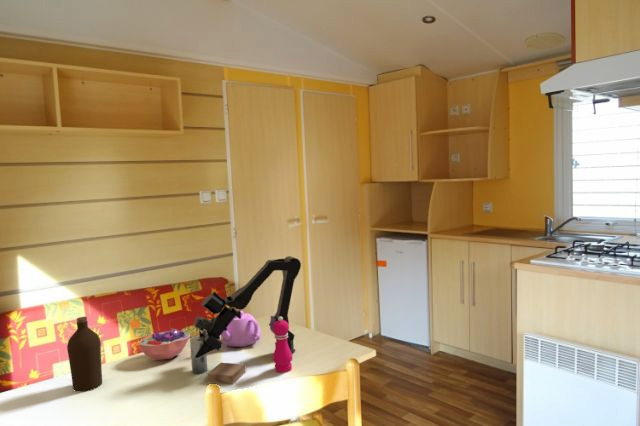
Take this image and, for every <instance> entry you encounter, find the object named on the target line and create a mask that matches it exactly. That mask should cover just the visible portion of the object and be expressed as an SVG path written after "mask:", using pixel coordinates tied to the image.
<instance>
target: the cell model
mask: <svg viewBox="0 0 640 426" xmlns="http://www.w3.org/2000/svg"><path fill="white" fill-rule="evenodd" d="M190 337H191V334H190V333H189V332H187V331H183V330H178V329H176V328H171V330H169V331H167V330H165V331H161V332H158V331H157V332H154V333H152V334H151V335H148V336H145V337H143V338H141V339H140V341H139V342H138V345H139V347H140V349H141V351H142V353H143V354H144V355H145V356H147V357H148V358H150V359H151V360H154V361H161V360H170V359H173V358H174V357H176V356H178V355H180V354H181V353H182V352H183V350H184V349H185V347H186V346H187V344H188V342H189V340H190Z"/></svg>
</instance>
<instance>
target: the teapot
mask: <svg viewBox="0 0 640 426" xmlns="http://www.w3.org/2000/svg"><path fill="white" fill-rule="evenodd" d="M240 311H241V319H239V318H238V317H237V316H236V317H235V318H234V319H233V320H232V322H231V323H230V324H229V325H228V327H227V330H226V331H225V330H224V331H223V333H222V334H221V335H220V340H221V341H222V342H223V343H224V344H225V345H226V346H228V347H235V348H236V347H238V348H239V347H240V348H241V347H245V346H246V347H247V346H250V345H253V344H255V343H256V342H257V341H259V340H260V339H261V335H262V333H261V332H262V331H261V327H260V326H259V323H258V321H257V320H256V319H255V317H254V316H253V315H252V314H250V313H248V312H246V313H245V312H244V310H240Z"/></svg>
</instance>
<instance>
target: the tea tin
mask: <svg viewBox="0 0 640 426" xmlns="http://www.w3.org/2000/svg"><path fill="white" fill-rule="evenodd" d="M202 338H204V339H205V337H204V336H199V335H197V336H193V337H191V338H189V342H190V343H189V347H190V360H191V371H192V374H194V375H202V374H205V373H208V371H209V369H208V357H207V355H208V354H207V353H206V354H204V355H202V356H201V357H199V358H196V357H195V355H196V354H197V352H198V350H199V349H200V347H201V346H202V344H203V340H202Z"/></svg>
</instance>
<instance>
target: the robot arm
mask: <svg viewBox="0 0 640 426" xmlns="http://www.w3.org/2000/svg"><path fill="white" fill-rule="evenodd" d="M301 267H302V263H301V260H300V259H298V258H297V257H294V256H289V255H288V256H285V257H284V258H278V259H268V260H267V261H266V262H265V263H264V265H263V266H262V267H261V268H260V269H259V270H257V272H255V274H254V275H253V276H252V277H251V279H249V281H247V283H246V284H244V285H243V286H242V287H240V288H238V289H237V290H235V291H234V292H233V293H232V294H231V295H229V296H228V295H227V296H226V297H221V295H219V294H218V293H217V292H216V291H215V290H214V291H212V293H210V294H208V295H207V296H206V297H204V299H203V301H202V302H201V306H202V307H203V308H205V309H206V310H208V311H209V312H210V313H211V314H213V315H216V314H217V315H216V316H215V317H212V318H211V319H209V318H206V317H203V316H202V317H201V316H198V315H197V316H196V317H195V320H194V323H193V325H194V327H195V328H198V336H204V337H205V339H204V338H202V340H203V344H202V346H201V347H200V349H199V350H198V352H197V354H196V355H195V357H196V358H199V357H201V356H202V355H204V354H206V355H207V354H208V353H210V352H212V351H214V350H217V351H220V350H221V348H222V347H223V345H222V342H221V341H222V340H221V334H222V333H223V331H224V330H225V331H226V330H227V327H228V325H229V324H230V323H231V322H232V320H233V319H234V318H235V317H236V316H237V317H238V318H239V319H241V311H242V310H244V309H245V308H247V306H248V305H249V303H250V301H251V300H252V298H253V295H254V293H256V291H257V290H258V289H259V288H260V287H261V285H262V284H264V282H265V281H266V280H267V279H268V278H269V277H270V276H271V275H272V274H273V273H274V272H276V271H282V277H283V278H282V281H281V282H282V283H281V289H280V294H279V297H278V304H277V308H276V313H275V314H274V315H270V322H269V323H268V326H269V327H270V328H269V329H270V331H271V333H272V334H274V335H275V332H274V331H273V325H274V323H275V322H276V321H279V320H278V317H280V316H281V317H282V318H283V320H284V321H286V322H287V323H288V324H289V325H290V322H289V316H288V315H289V309H290V305H291V298H292V293H293V287H294V283H295V280H296V278H298V275H299V272H300V271H301ZM287 333H288V338H287V343H288V346H289V348H290V350H291V353H292V355H293V354H294V353H295V352H296V349H294V348H295V347H294V345H295V344H294V340H295V336H296V335H295V334H294V333H293V332H291V331H290V329H289V330H288V332H287ZM274 343H275V345H274V346H275V348H276V341H275V342H274ZM275 348H274V349H275Z"/></svg>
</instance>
